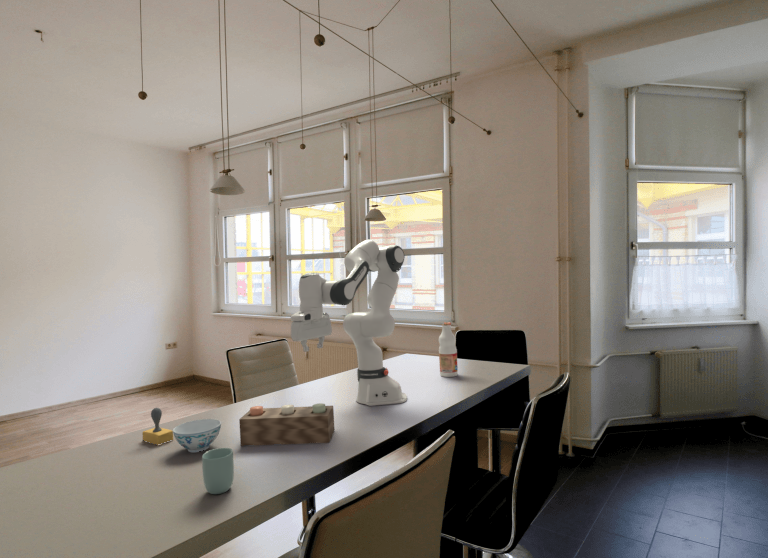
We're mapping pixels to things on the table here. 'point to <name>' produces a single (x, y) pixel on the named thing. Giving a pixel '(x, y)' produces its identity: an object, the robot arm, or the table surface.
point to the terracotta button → (256, 410)
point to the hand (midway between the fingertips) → (313, 349)
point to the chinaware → (197, 434)
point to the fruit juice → (447, 352)
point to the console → (287, 427)
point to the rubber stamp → (157, 430)
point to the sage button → (319, 408)
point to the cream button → (287, 409)
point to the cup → (218, 470)
